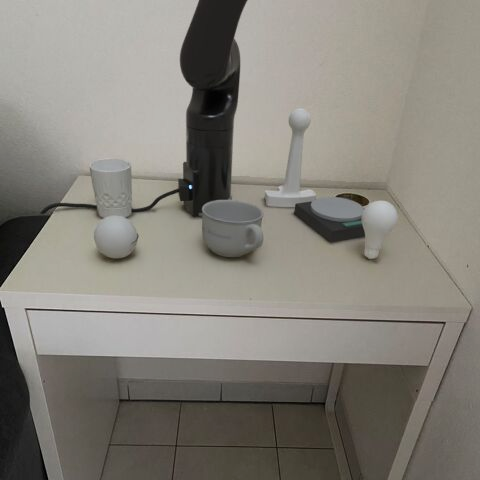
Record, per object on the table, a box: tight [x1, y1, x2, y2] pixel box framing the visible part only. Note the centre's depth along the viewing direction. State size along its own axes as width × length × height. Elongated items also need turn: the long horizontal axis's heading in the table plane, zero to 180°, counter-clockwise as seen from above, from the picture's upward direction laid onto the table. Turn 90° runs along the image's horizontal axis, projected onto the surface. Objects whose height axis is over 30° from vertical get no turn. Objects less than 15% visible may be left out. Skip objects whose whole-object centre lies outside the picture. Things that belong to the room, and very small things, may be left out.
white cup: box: [88, 157, 133, 219], centre depth 98 cm, size 8×8×10 cm
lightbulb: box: [361, 199, 399, 260], centre depth 88 cm, size 6×6×11 cm
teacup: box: [201, 199, 264, 258], centre depth 87 cm, size 14×11×8 cm
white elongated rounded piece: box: [93, 215, 139, 259], centre depth 86 cm, size 10×7×7 cm
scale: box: [293, 196, 366, 243], centre depth 102 cm, size 13×14×3 cm
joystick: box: [263, 107, 317, 208], centre depth 106 cm, size 11×8×20 cm
